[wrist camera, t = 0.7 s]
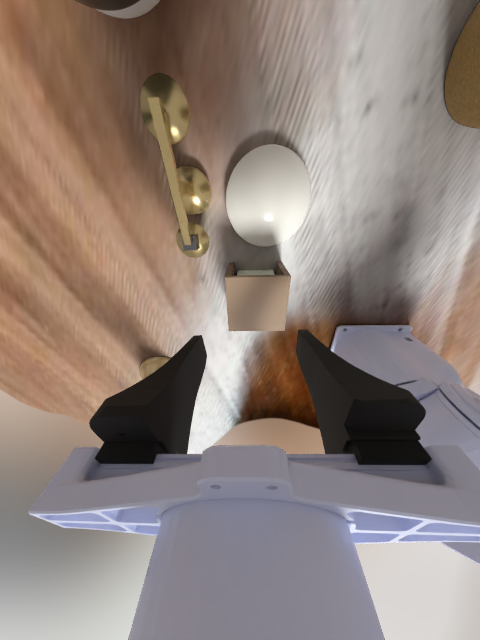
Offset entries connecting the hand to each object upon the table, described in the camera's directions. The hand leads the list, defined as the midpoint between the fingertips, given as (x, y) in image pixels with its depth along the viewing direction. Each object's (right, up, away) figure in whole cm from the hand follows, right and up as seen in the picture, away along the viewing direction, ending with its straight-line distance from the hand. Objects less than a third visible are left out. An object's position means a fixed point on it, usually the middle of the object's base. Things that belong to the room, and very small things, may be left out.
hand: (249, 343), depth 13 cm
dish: (+2, +13, +3) cm, 14 cm away
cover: (+1, +6, +8) cm, 10 cm away
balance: (-5, +14, +3) cm, 15 cm away
